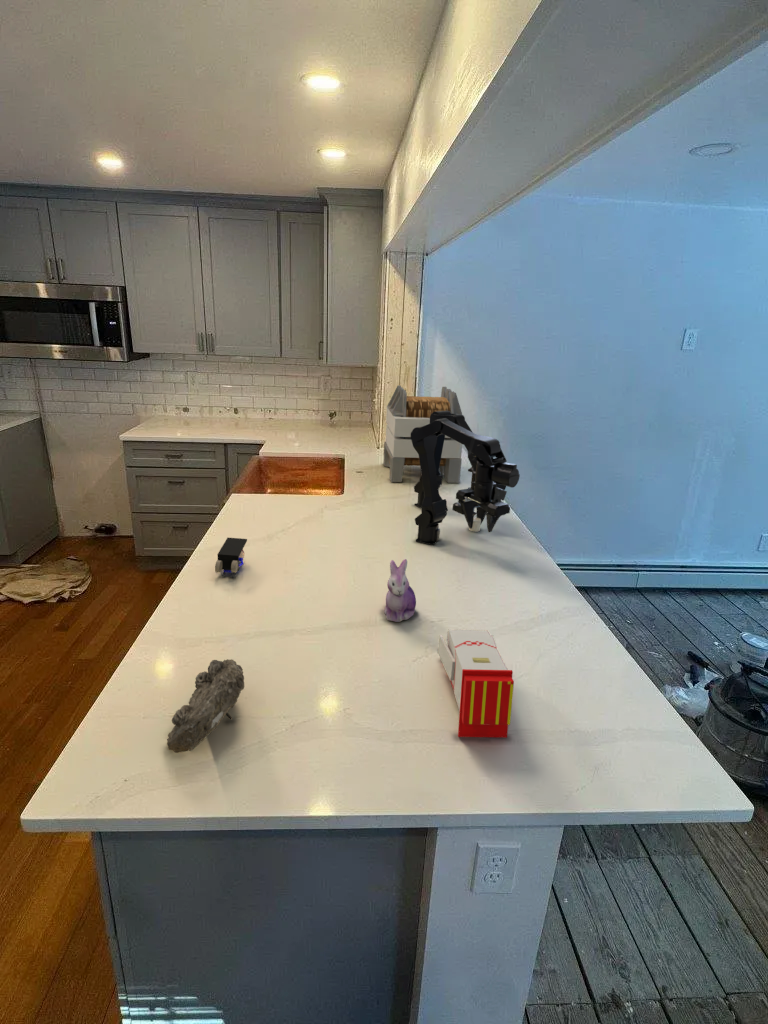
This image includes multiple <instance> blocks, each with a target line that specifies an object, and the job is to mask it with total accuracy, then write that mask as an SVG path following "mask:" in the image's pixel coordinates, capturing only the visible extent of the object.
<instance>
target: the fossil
mask: <svg viewBox="0 0 768 1024" xmlns="http://www.w3.org/2000/svg"><path fill="white" fill-rule="evenodd" d="M243 670H244V669H243V667H242V665H240V664H237V662H236V661H235V660H234V659H232V658H231V659H227V658H226V659H224V660H223V661H222V660H217V659H212V660H211V661H210V663H209V665H208V666H207V671H201V672H199V673H198V674H197V675H196V676H195V680H194V684H195V685H194V687H195V689H194V690H193V693H192V694H191V697H190V698H189V700H188V704H184V705H182V706H181V707H180V709H177V710H176V711H175V713H174V715H173V716H172V718H171V723H172V724H173V727H172V730H171V731H170V732H168V734H167V738H166V741H167V742H166V745H167V749H168V750H169V751H173V752H174V753H176V754H178V753H182V752H188V751H189V752H192V751H193V750H195V748H196V747H197V746H199V744H200V743H201V742H203V741H204V740H205V739H206V738H207V737H208V736H209V735H210V734H211V733H212V732H214V730H215V729H217V727H218V726H219V724H220V722H221V721H222V720H223V719H224V718H225V716H226V717H227V719H229V720H233V717H232V715H230V714H229V710H230V709H231V708H234V706H235V704H236V703H237V702H238V699H239V697H240V695H241V693H242V691H243V690H245V689H244V688H245V675H244V671H243Z"/></svg>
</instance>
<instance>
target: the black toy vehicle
mask: <svg viewBox="0 0 768 1024" xmlns="http://www.w3.org/2000/svg"><path fill="white" fill-rule="evenodd" d="M247 542H248V538H240V537H226V539H225V541H224V543H223V544H222V546H221V547H220V549H219V551H218V552H217V560H216V562H215V564H214V572H215V573H221V577H222V578H224V577H225V576H226V574H227V573H230V574H231V573H232V574H231V578H234V577H235V575H236V573H237V572H239V571H240V567H242V566H243V565H244V564H245V562H244V558H245V551H244V547H245V546H246V544H247Z"/></svg>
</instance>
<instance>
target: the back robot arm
mask: <svg viewBox="0 0 768 1024" xmlns="http://www.w3.org/2000/svg"><path fill="white" fill-rule="evenodd" d="M443 418H446V419H448V420H449V421H451V422H453V423H455V424H457V425H459V426H461V427H463V428H465V429H467V430H469V431H470V432H472V433H474V432H473V430H472V429H471V427H470V425H469V424H468V423H467V420H466V417H465V415H464V414H462V415H461V414H453V413H451V412H450V411H435V412H433V413H431V415H430V423H432V422H434V421H435V420H437V419H443ZM444 439H445V435H444V434H441V435H439V436H437V440H436V446H435V449H434V460H435V468H436V475H437V483H438V490H440V487H441V486H443V478H444V476H443V475H444V474H441V472H440V471H439V466H440V461H441V455H442V450H443V444H444ZM463 446H464V447H465V449H466V451H467V459H468V461H469V463H470V465H471V467H469V468H468V469H467V471H468V472H469V473H471V479H470V487H468V488H469V489H472V490H474V486H473V485H472V482H475V475H476V465H477V464H473V463H471V460H473V459H474V458H475V457H476V456H475V455H474V454H473V453H471V451H470V449H469V448H468V447H467V446H465V445H463ZM491 459H494V457H492V458H491ZM494 483H495V482H494ZM496 485H497V488H500V489H502V490H505V491H506V488H507V486H504V485H500V484H497V483H496ZM413 491H414V493H416V494H417V502H416V503H414V506H416V507H418V508H419V509H421V506H422V503H423V500H424V489H423V482H422V475H421V474H420V477H419V480H418V482H416V484H415V485H414V486H413ZM498 501H502V500H501V499H498V498H497V500H492V501H491V502H498ZM475 509H476V511H475ZM452 511H453V512H456V513H458V514H460V515H463V516H464V518H465V521H466V523H467V526H468V529H469V528H472V525H473V519H474V517H475V516H476V518H480V519H481V525H482V524H483V522H484V520H485V518H486V513H488V511H487V506H484V505H482V504H480V503H477V502H476V504H475V505H474V509H473V516H472V521H471V523H468V521H467V519H466V516H465V513H464V511H463V509H462V507H461V505H460V503H459V502H458V501H457V502H454V503H453V504H452Z"/></svg>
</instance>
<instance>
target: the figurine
mask: <svg viewBox="0 0 768 1024" xmlns="http://www.w3.org/2000/svg"><path fill="white" fill-rule="evenodd" d="M407 567H408V559H406V558H404V559H403V560H402V561H401V563H400V565H399V566H398V565H397V563H396V562H395V561H394V560H393V559H391V560H390V561H389V570H390V576H389V578H388V579H387V589H388V591H387V592H386V594H385V595H386V596H385V607H384V615H385V616H386V620H387V621H391V622H395V623H400V622H402V621H406V620H409V619H410V618H411V617H413V616H414V615H415V610H416V606H417V597H416V593H415V591H414V590H413V587H411V586H410V582H409V579H408V577H407V574H406V571H407Z"/></svg>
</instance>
